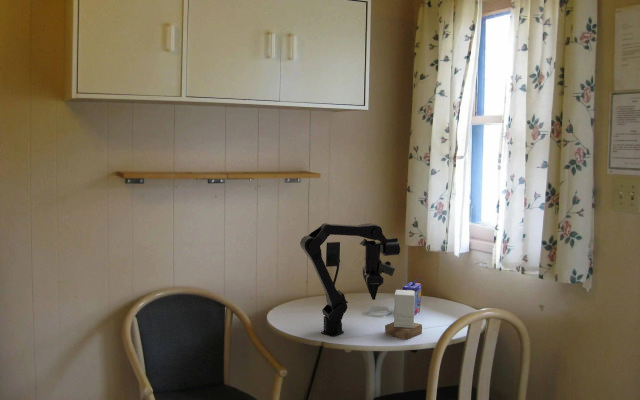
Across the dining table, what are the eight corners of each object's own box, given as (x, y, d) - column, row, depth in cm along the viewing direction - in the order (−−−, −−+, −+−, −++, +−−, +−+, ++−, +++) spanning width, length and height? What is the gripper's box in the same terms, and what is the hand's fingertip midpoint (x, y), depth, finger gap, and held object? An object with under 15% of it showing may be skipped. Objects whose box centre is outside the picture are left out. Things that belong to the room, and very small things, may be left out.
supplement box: (414, 322, 238) (415, 290, 236) (413, 328, 230) (414, 295, 229) (394, 321, 239) (395, 289, 238) (393, 327, 232) (394, 293, 230)
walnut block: (385, 335, 235) (385, 325, 234) (399, 329, 242) (399, 319, 242) (407, 341, 228) (407, 330, 228) (421, 334, 236) (422, 324, 235)
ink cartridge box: (413, 317, 257) (414, 282, 256) (401, 315, 260) (401, 281, 258) (421, 311, 266) (422, 277, 265) (409, 309, 269) (409, 276, 267)
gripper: (397, 261, 229) (396, 302, 230) (390, 252, 247) (389, 290, 249) (367, 261, 228) (366, 303, 230) (362, 252, 247) (362, 290, 248)
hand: (372, 296), depth 239 cm, fingers open, 9 cm apart
